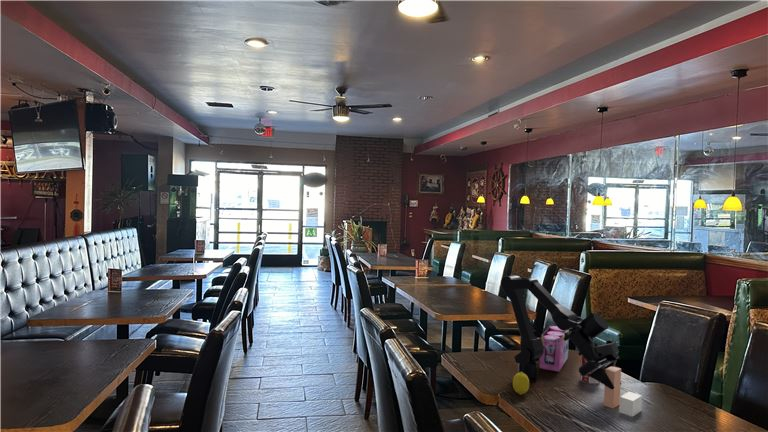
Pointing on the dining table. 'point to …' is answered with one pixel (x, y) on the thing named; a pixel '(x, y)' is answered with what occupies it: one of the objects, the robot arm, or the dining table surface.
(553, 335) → the gum box
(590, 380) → the soda can
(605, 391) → the stub
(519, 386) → the lemon
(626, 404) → the white long block
